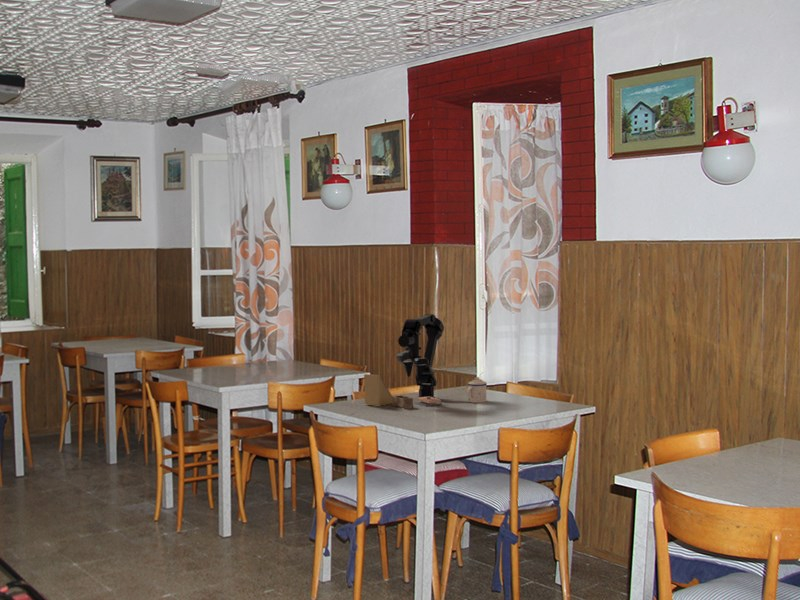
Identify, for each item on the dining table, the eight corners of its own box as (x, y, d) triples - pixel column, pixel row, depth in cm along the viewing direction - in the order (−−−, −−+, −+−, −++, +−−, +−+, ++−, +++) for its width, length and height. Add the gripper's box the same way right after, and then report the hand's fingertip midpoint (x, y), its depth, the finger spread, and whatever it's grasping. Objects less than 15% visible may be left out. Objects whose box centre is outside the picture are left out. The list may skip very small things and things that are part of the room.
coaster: (431, 401, 436) (431, 400, 436) (441, 404, 429) (441, 403, 428) (415, 403, 432) (415, 402, 432) (425, 406, 424) (425, 405, 424)
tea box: (392, 405, 426) (392, 396, 426) (402, 404, 429) (402, 395, 429) (403, 408, 418) (403, 399, 418) (413, 407, 420) (413, 398, 420)
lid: (417, 401, 433) (417, 396, 433) (429, 400, 436) (428, 394, 436) (428, 405, 424) (428, 399, 424) (440, 403, 427) (440, 398, 427)
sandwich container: (397, 402, 437) (397, 371, 436) (379, 407, 424) (379, 375, 424) (382, 400, 442) (382, 370, 441) (364, 405, 429) (363, 374, 428)
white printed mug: (475, 399, 442) (475, 375, 442) (490, 401, 436) (490, 377, 436) (460, 402, 434) (460, 378, 433) (475, 404, 427) (475, 379, 427)
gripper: (388, 344, 437) (389, 376, 438) (408, 348, 421) (408, 381, 422) (409, 343, 442) (409, 375, 443) (428, 346, 426) (429, 379, 427)
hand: (413, 377), depth 434 cm, fingers open, 9 cm apart
